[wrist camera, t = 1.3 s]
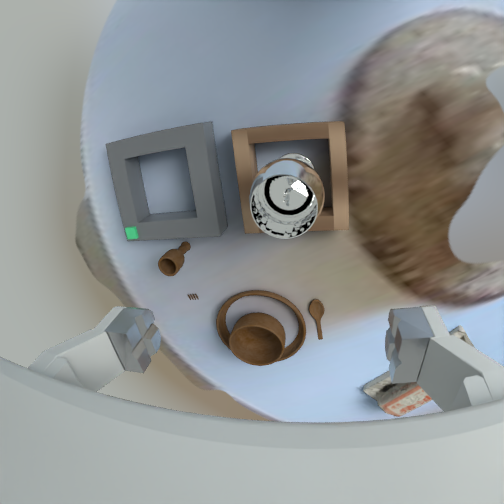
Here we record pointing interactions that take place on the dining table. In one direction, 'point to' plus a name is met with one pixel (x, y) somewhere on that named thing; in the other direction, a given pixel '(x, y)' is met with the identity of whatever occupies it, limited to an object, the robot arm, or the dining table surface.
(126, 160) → the frame
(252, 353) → the place setting
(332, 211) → the wooden square frame
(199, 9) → the dining table surface
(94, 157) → the dining table surface
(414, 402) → the packaged product
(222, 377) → the dining table surface
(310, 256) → the dining table surface
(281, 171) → the wineglass
